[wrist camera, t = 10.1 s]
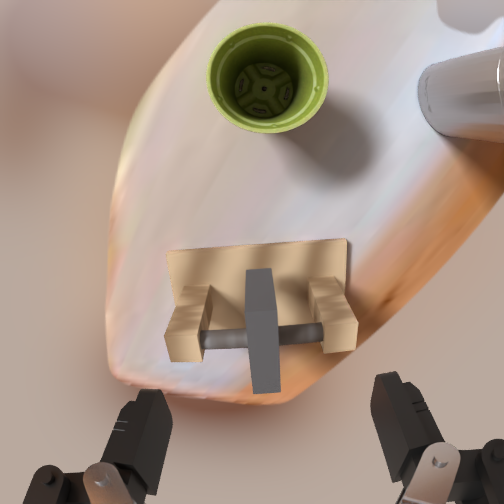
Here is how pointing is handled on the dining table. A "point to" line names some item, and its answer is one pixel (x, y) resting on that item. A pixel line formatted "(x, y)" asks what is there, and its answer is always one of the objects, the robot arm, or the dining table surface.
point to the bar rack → (233, 296)
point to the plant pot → (267, 77)
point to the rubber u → (262, 331)
